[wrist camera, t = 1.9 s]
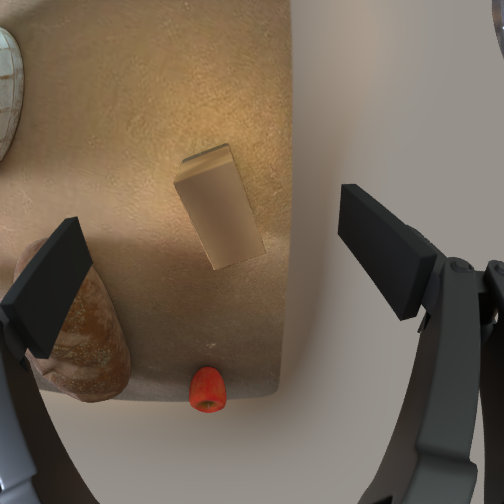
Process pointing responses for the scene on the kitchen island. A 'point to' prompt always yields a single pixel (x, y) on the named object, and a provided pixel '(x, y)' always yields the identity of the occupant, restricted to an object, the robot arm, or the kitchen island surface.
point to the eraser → (219, 207)
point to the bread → (85, 342)
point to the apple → (207, 390)
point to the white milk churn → (9, 88)
